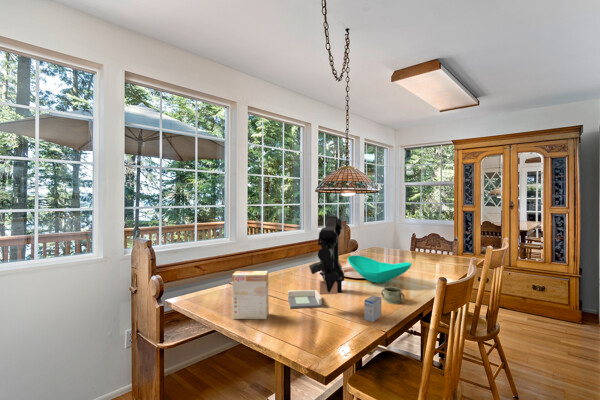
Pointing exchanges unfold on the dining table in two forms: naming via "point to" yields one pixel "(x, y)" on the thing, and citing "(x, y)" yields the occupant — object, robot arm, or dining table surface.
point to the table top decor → (377, 268)
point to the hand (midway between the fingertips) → (327, 290)
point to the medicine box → (372, 308)
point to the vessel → (392, 295)
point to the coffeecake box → (250, 295)
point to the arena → (304, 299)
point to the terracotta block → (323, 288)
